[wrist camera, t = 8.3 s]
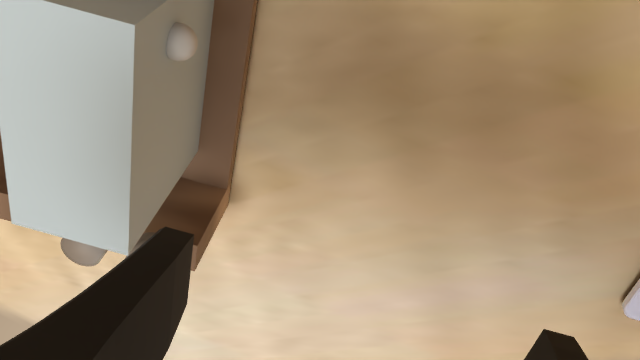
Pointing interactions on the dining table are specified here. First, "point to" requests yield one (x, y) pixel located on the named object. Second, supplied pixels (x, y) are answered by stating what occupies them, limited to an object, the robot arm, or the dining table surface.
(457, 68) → the dining table surface
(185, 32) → the grey block
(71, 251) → the wooden rimmed tray
